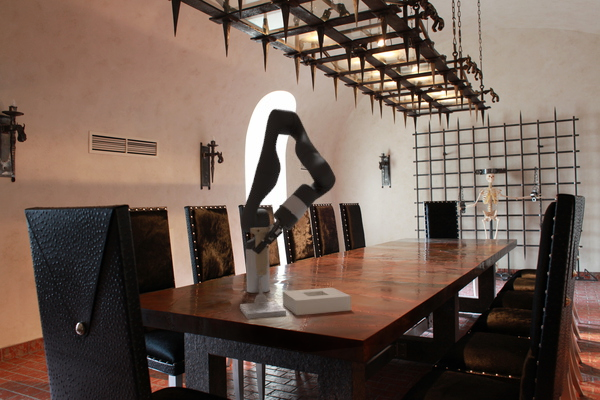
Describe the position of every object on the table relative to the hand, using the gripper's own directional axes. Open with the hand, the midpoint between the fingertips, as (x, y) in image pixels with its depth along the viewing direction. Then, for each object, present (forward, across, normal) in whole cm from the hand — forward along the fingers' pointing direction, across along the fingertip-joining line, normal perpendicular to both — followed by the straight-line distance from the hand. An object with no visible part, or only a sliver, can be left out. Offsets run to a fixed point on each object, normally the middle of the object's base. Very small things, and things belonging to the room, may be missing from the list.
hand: (255, 251), depth 153 cm
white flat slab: (+13, -1, +15) cm, 20 cm away
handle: (+4, 0, +7) cm, 8 cm away
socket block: (0, -1, +28) cm, 28 cm away
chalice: (+11, -19, +17) cm, 28 cm away
